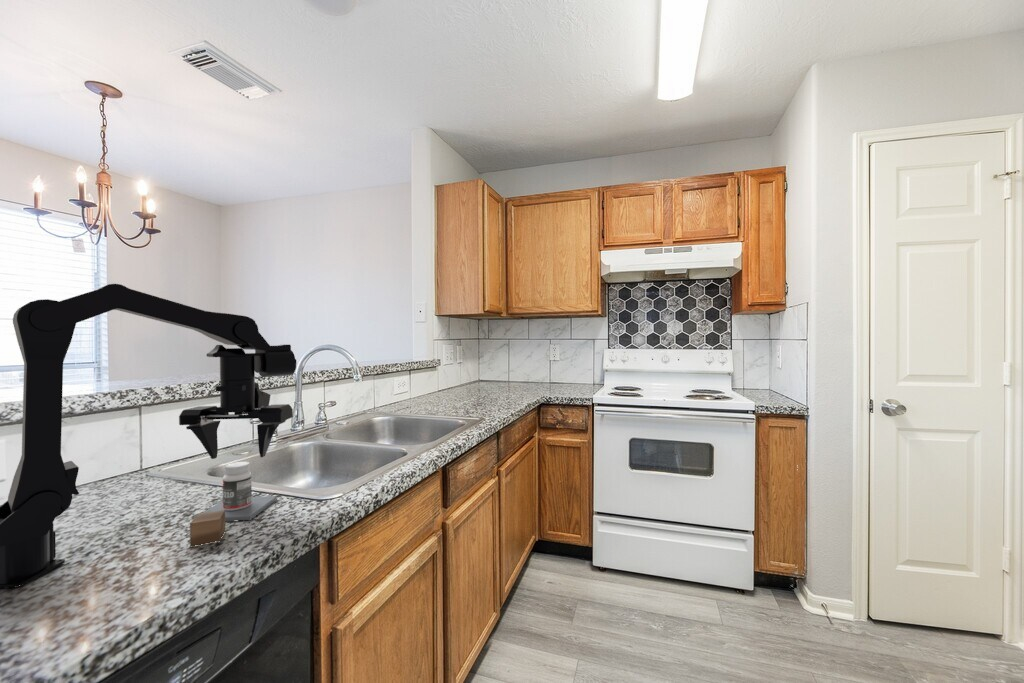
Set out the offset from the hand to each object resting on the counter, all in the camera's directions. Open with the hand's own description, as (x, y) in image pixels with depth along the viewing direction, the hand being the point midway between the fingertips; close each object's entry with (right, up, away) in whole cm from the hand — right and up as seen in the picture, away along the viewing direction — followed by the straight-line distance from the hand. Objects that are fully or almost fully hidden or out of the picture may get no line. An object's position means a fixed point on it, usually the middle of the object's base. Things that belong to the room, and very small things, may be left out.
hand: (238, 457), depth 81 cm
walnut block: (+3, -11, -12) cm, 16 cm away
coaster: (0, -11, 0) cm, 11 cm away
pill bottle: (0, -10, 0) cm, 10 cm away
